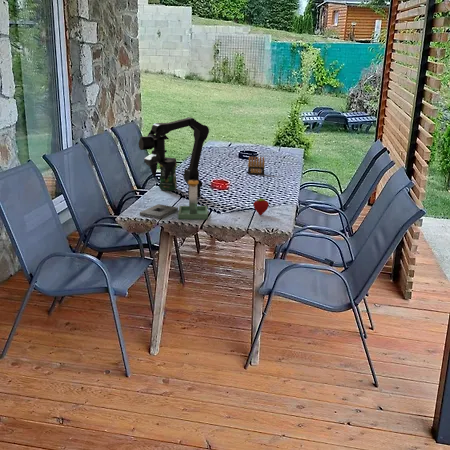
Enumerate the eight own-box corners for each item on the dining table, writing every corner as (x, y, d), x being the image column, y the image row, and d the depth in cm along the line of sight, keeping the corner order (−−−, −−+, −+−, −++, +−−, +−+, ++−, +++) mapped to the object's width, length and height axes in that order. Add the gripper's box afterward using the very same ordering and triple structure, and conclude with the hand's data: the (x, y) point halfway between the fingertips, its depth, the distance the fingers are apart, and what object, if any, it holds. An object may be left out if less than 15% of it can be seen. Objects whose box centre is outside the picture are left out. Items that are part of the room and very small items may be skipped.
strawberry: (268, 217, 258) (269, 197, 255) (253, 217, 258) (254, 197, 255) (267, 213, 264) (268, 194, 261) (252, 213, 264) (253, 193, 260)
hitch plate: (158, 206, 272) (158, 204, 271) (178, 210, 267) (178, 207, 266) (139, 215, 259) (139, 212, 258) (160, 219, 253) (159, 216, 253)
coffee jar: (158, 190, 302) (157, 158, 296) (163, 187, 310) (162, 155, 304) (173, 191, 300) (173, 159, 294) (178, 188, 307) (178, 156, 301)
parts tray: (179, 210, 266) (179, 205, 265) (207, 210, 267) (207, 206, 266) (178, 219, 253) (178, 214, 252) (207, 219, 254) (207, 214, 253)
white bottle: (199, 212, 262) (199, 180, 256) (197, 215, 257) (196, 182, 252) (189, 211, 263) (189, 179, 258) (186, 214, 258) (186, 182, 253)
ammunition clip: (247, 174, 342) (248, 156, 339) (247, 173, 344) (248, 155, 340) (264, 175, 341) (264, 156, 337) (264, 174, 343) (265, 156, 339)
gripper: (135, 147, 271) (136, 177, 276) (159, 153, 259) (160, 184, 264) (152, 145, 279) (153, 174, 284) (176, 150, 267) (176, 180, 272)
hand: (160, 178), depth 276 cm, fingers open, 9 cm apart
